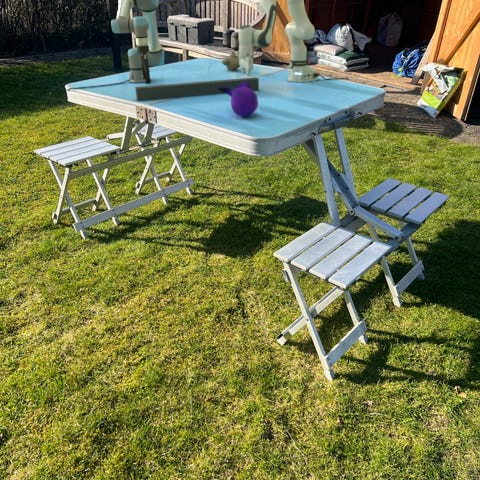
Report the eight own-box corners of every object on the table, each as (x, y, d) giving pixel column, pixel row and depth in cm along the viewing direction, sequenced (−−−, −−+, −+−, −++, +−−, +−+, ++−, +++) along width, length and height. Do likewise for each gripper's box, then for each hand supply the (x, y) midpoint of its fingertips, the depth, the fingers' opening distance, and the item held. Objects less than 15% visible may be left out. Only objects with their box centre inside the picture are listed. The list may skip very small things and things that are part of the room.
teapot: (225, 72, 362) (225, 52, 354) (219, 70, 371) (218, 51, 363) (248, 69, 371) (248, 50, 364) (241, 67, 380) (241, 48, 372)
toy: (241, 106, 267) (257, 123, 246) (213, 101, 259) (228, 118, 239) (248, 79, 259) (266, 94, 238) (220, 73, 251) (235, 89, 231)
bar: (137, 101, 284) (136, 88, 280) (136, 99, 289) (135, 86, 285) (258, 90, 304) (258, 78, 300) (255, 88, 309) (255, 77, 305)
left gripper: (151, 47, 263) (155, 85, 274) (146, 42, 283) (150, 77, 294) (138, 48, 261) (143, 86, 272) (134, 42, 281) (138, 77, 292)
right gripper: (255, 54, 284) (256, 77, 292) (245, 50, 301) (246, 71, 308) (246, 55, 283) (246, 78, 290) (236, 51, 300) (237, 72, 307)
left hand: (147, 81), depth 283 cm, fingers open, 13 cm apart
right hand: (246, 74), depth 299 cm, fingers open, 8 cm apart
